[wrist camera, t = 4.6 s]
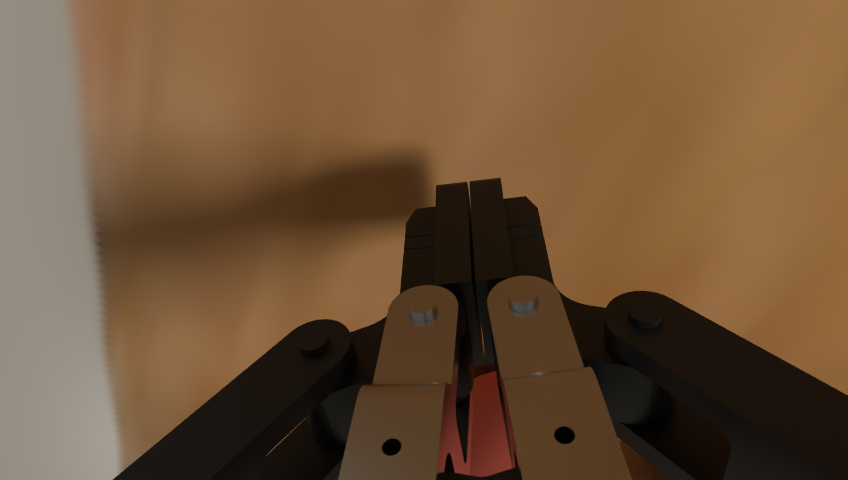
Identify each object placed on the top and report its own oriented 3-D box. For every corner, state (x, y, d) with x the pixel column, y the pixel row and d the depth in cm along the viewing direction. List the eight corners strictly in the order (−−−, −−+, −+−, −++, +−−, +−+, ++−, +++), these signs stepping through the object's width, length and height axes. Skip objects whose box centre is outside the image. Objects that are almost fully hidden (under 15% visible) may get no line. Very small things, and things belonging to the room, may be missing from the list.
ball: (442, 615, 19) (435, 429, 23) (642, 600, 18) (599, 409, 22) (389, 569, 15) (392, 348, 18) (651, 546, 14) (595, 318, 18)
